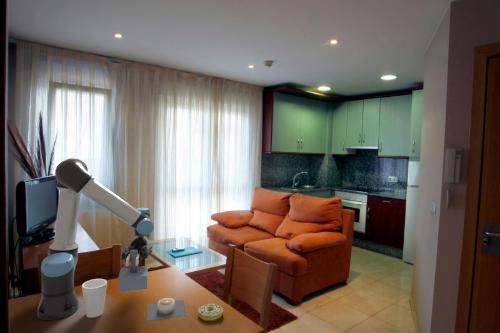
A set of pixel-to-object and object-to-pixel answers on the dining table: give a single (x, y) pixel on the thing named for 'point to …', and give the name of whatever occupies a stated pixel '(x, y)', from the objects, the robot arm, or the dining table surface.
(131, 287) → the cover
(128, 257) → the robot arm
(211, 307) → the decorated donut
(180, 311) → the mat
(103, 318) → the dining table surface
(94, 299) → the foam cup
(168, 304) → the bowl
